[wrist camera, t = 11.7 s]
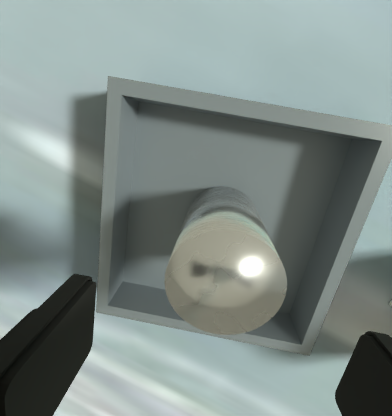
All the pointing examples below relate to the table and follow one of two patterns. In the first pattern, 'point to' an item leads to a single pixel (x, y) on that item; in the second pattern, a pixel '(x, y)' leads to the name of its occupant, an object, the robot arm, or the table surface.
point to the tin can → (224, 266)
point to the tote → (241, 180)
